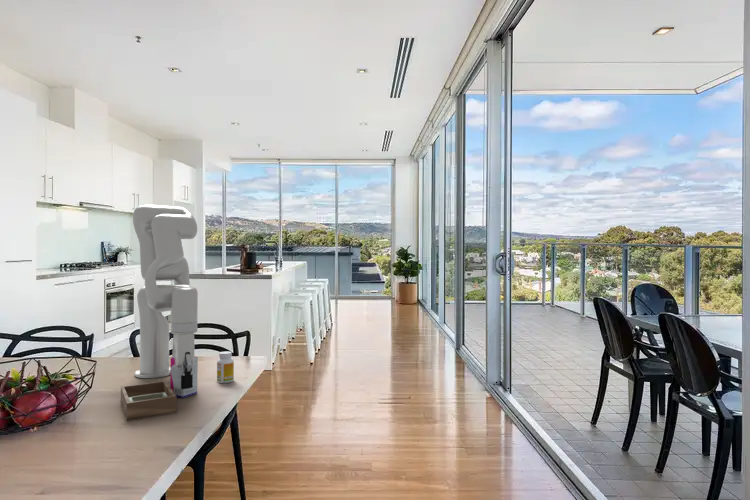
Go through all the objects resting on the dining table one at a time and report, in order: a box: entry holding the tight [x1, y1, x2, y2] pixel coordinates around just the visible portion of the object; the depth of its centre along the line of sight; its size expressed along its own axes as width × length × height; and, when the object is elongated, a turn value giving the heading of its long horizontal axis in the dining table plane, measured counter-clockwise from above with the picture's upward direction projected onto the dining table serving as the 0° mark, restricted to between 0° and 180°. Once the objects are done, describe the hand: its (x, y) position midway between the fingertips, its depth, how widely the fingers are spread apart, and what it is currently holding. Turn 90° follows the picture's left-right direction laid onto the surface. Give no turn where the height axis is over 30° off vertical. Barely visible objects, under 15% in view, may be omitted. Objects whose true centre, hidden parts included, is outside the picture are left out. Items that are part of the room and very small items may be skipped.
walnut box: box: [120, 380, 177, 422], centre depth 136 cm, size 18×12×4 cm, turn 32°
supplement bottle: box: [216, 351, 235, 384], centre depth 163 cm, size 5×5×10 cm
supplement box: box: [169, 355, 199, 399], centre depth 148 cm, size 6×6×12 cm
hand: (183, 384), depth 148 cm, fingers closed on supplement box, 7 cm apart
